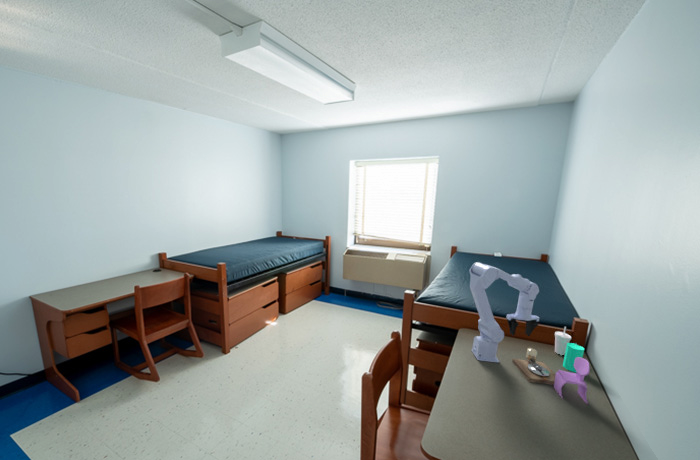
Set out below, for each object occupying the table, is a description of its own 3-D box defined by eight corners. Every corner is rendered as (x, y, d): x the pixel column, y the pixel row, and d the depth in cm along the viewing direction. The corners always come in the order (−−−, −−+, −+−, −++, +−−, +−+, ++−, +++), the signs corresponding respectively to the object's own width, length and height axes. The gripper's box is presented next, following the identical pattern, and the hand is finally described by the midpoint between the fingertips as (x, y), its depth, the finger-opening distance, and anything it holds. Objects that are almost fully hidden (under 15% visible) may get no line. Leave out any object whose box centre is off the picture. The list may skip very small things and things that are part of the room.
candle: (583, 373, 117) (589, 347, 115) (569, 372, 117) (575, 346, 115) (572, 364, 123) (577, 339, 121) (559, 363, 123) (564, 338, 121)
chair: (551, 384, 107) (558, 349, 105) (576, 390, 105) (584, 354, 103) (561, 399, 99) (569, 362, 97) (589, 406, 97) (598, 367, 95)
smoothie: (554, 355, 129) (560, 327, 127) (549, 348, 135) (554, 321, 133) (570, 358, 127) (576, 330, 126) (564, 351, 134) (569, 324, 132)
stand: (528, 381, 108) (529, 377, 108) (512, 361, 121) (512, 358, 121) (562, 385, 107) (563, 381, 107) (542, 365, 120) (543, 361, 120)
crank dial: (553, 378, 109) (556, 366, 108) (533, 374, 110) (535, 362, 109) (537, 360, 120) (539, 349, 120) (519, 357, 121) (521, 346, 121)
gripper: (533, 303, 128) (528, 330, 130) (504, 302, 126) (499, 329, 128) (544, 310, 121) (539, 338, 123) (514, 308, 119) (509, 337, 121)
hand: (519, 334), depth 125 cm, fingers open, 7 cm apart
